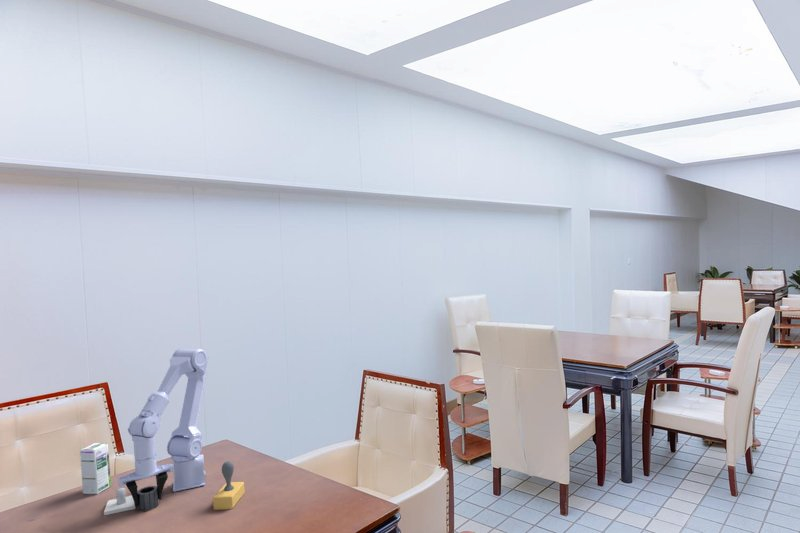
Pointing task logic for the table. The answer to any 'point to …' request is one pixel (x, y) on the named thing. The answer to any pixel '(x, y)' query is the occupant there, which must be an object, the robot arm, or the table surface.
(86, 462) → the syrup box
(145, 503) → the gray grooved hollow cylinder
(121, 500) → the white square peg stand
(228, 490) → the rubber stamp
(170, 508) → the table surface
